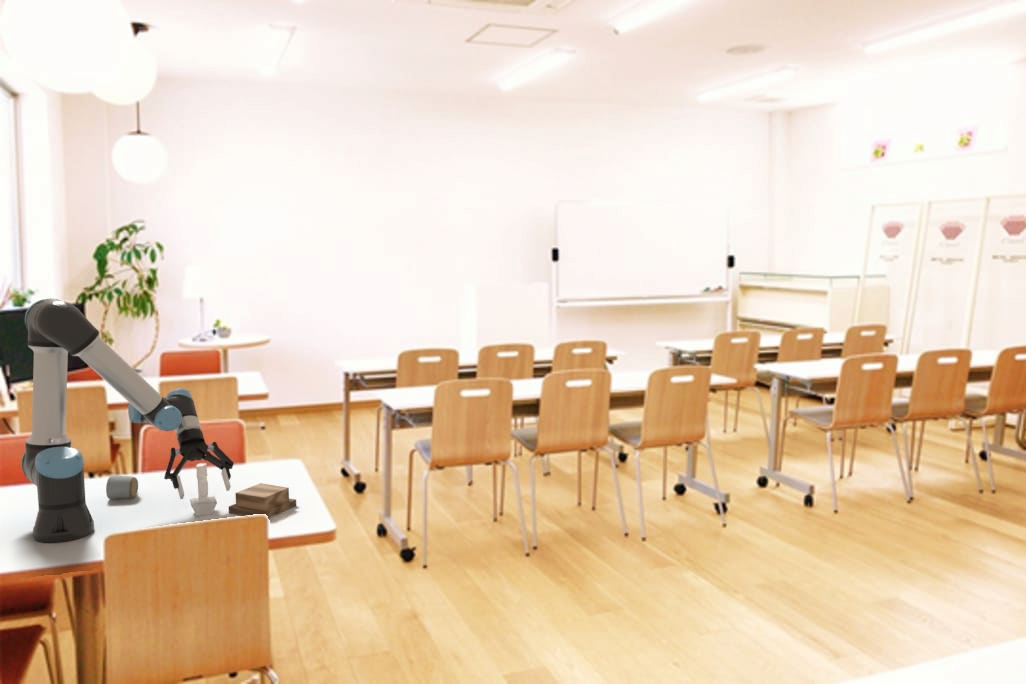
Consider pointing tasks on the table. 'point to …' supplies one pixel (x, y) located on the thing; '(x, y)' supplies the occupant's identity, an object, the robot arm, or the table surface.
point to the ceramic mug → (121, 487)
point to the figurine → (203, 493)
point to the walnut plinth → (270, 512)
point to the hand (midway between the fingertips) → (205, 492)
